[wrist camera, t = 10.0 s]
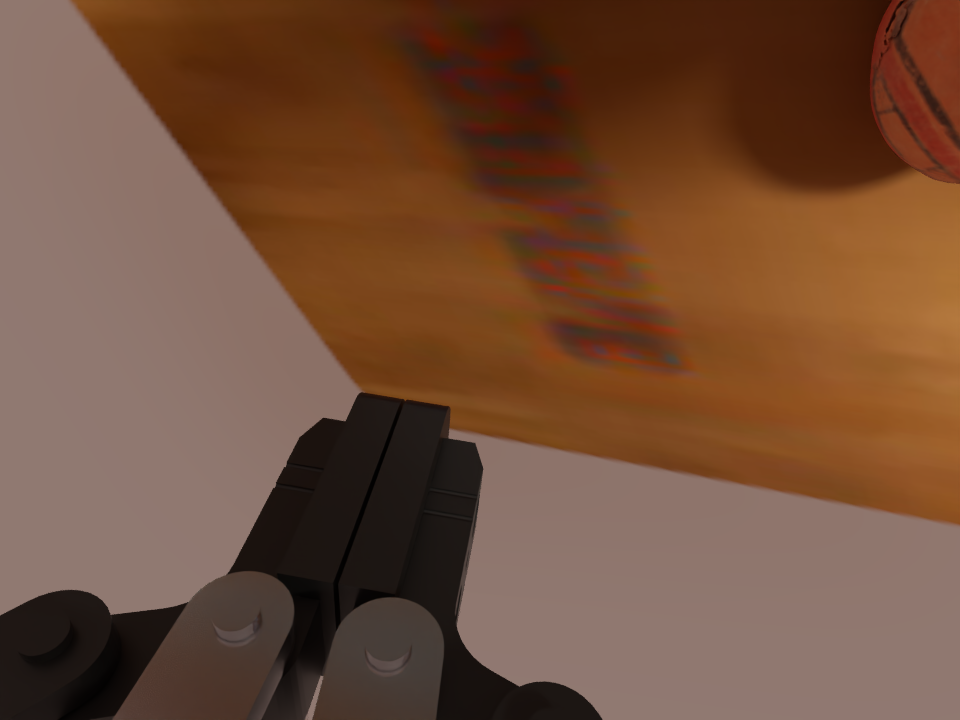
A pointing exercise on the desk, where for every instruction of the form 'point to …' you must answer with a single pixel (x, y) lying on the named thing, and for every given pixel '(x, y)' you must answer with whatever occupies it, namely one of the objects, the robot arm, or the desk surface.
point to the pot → (919, 85)
